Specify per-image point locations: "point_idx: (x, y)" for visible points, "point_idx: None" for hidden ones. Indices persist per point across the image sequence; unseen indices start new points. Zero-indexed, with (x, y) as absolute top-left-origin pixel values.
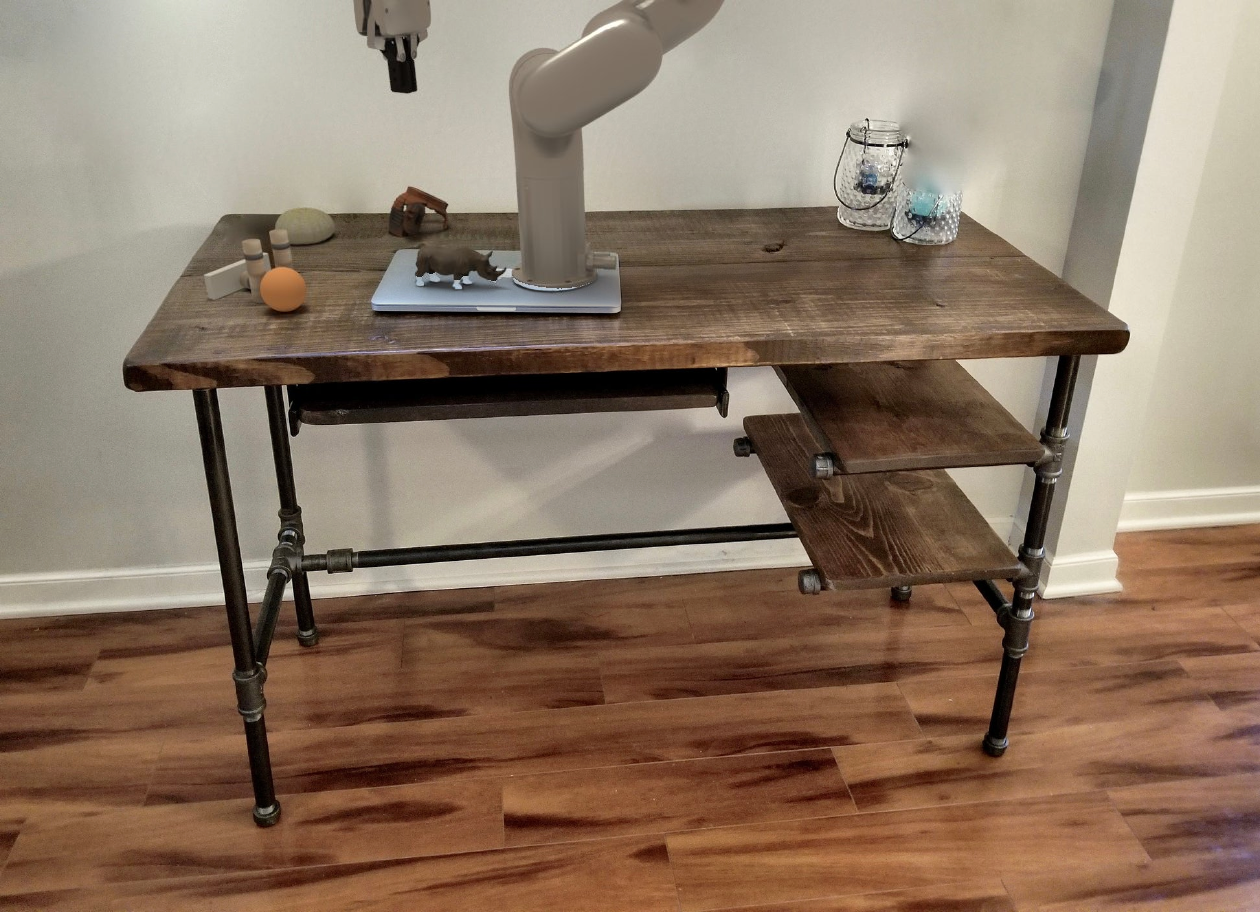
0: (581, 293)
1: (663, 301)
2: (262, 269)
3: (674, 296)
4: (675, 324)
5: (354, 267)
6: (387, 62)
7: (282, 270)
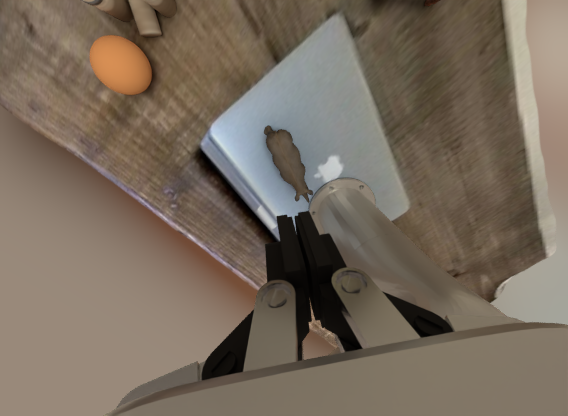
0: None
1: None
2: (105, 9)
3: None
4: None
5: (264, 15)
6: (285, 265)
7: (109, 72)
